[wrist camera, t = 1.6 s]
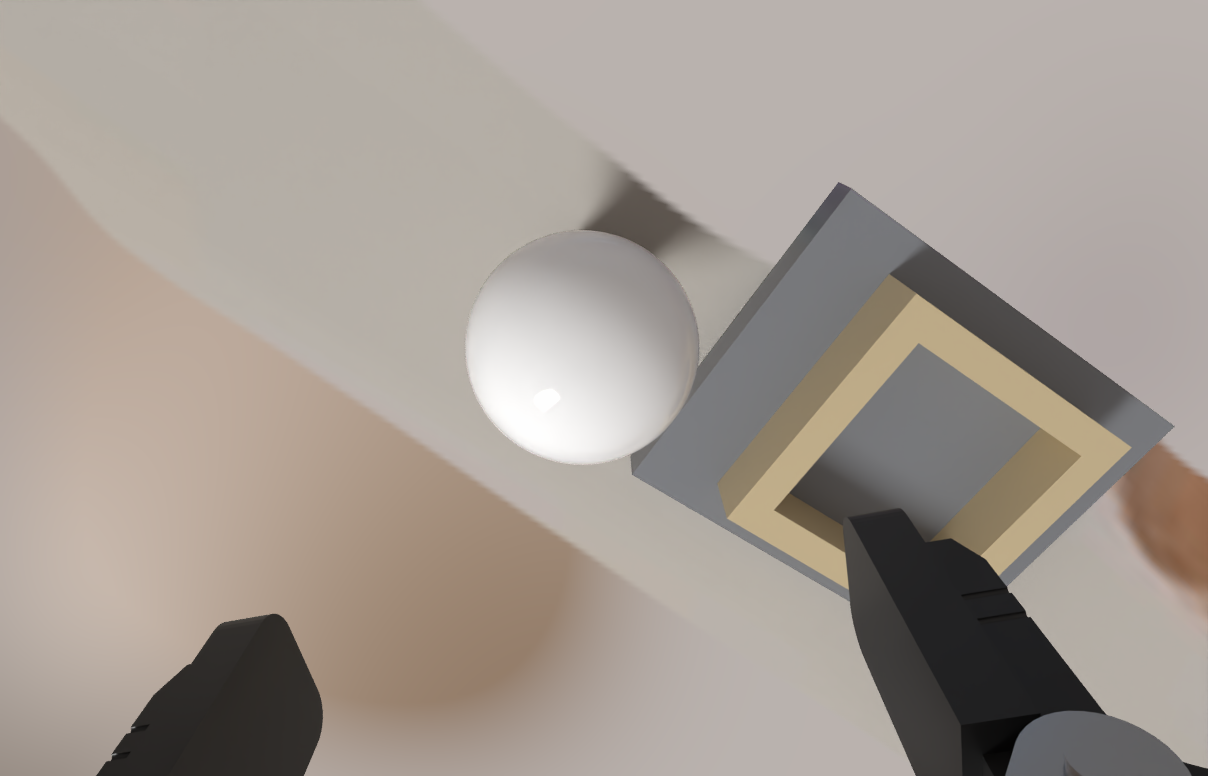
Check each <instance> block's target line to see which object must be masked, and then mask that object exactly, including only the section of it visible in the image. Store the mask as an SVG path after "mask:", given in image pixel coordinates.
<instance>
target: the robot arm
mask: <svg viewBox="0 0 1208 776" xmlns="http://www.w3.org/2000/svg"><path fill="white" fill-rule="evenodd" d="M843 535H844V546H845V556H846V566H847V576H848V586H849V596H850V606H851V613H852V619H853V624H854V628H855V632H856V636H857V639H858V643H859V646H860V649H861V651H862V654H863V656H864V659H865V661H866V663H867V666H868V668H869V670H870V672H871V675H872V677H873V679H874V682H875V684H876V686H877V688H878V691H879V693H880V695H881V698H882V700H883V702H884V704H885V707H886V709H887V711H888V713H889V716H890V718H891V720H892V723H893V725H894V727H895V729H896V732H897V734H898V736H899V738H900V741H901V743H902V745H903V748H904V750H905V752H906V754H907V757H908V759H909V761H910V763H911V766H912V768H913V770H914V773H915V775H916V776H1208V769H1207V768H1202V767H1199V766H1195V765H1191V764H1187V763H1185V762H1182V761H1181V759H1180V758H1179V757H1178V756H1177V755H1176V754H1175V753H1174V752H1173V751H1172V750H1171V749H1170V748H1169V747H1168V746H1167V745H1165V744H1164V743H1163V742H1161V741H1160V740H1159V739H1157V738H1156V737H1155V736H1153V735H1151V734H1150V733H1148V732H1146V731H1145V730H1143V729H1141V728H1139V727H1137V726H1135V725H1133V724H1131V723H1128V722H1126V721H1123V720H1121V719H1118V718H1115V717H1112V716H1108V715H1106V714H1105V712H1104V711H1103V710H1102V709H1101V708H1100V706H1099V705H1098V704H1097V703H1096V701H1095V700H1094V699H1093V697H1092V696H1091V695H1090V693H1089V692H1088V691H1087V690H1086V688H1085V687H1084V686H1083V684H1082V683H1081V682H1080V681H1079V679H1078V678H1077V677H1076V675H1075V674H1074V673H1073V671H1072V670H1071V669H1070V668H1069V666H1068V665H1067V664H1066V662H1065V661H1064V660H1063V659H1062V657H1061V656H1060V655H1059V653H1058V652H1057V651H1056V649H1055V648H1054V647H1053V646H1052V644H1051V643H1050V642H1049V640H1048V639H1047V638H1046V637H1045V635H1044V634H1043V633H1042V631H1041V630H1040V629H1039V628H1038V626H1037V625H1036V624H1035V622H1034V621H1033V620H1032V618H1031V617H1027V615H1026V611H1025V609H1024V608H1023V607H1022V606H1021V604H1020V603H1019V602H1018V600H1017V599H1016V598H1015V596H1014V595H1013V594H1012V593H1009V592H1008V589H1007V586H1006V585H1005V584H1004V582H1003V581H1002V580H1001V578H1000V577H999V576H998V574H997V573H996V572H995V571H994V569H993V568H992V567H991V565H990V564H989V563H988V562H987V560H986V559H985V558H983V557H981V556H980V555H978V554H976V553H975V552H973V551H971V550H970V549H968V548H966V547H965V546H963V545H961V544H960V543H958V542H957V541H955V540H953V539H952V538H949V539H943V540H937V541H931V542H925V541H924V540H923V538H922V537H921V535H920V534H919V532H918V531H917V529H916V528H915V526H914V525H913V523H912V522H911V520H910V519H909V517H908V516H907V514H906V513H905V512H904V511H903V510H902V509H901V508H895V509H890V510H884V511H878V512H872V513H866V514H861V515H855V516H849V517H845V518H844V520H843ZM322 720H323V710H322V702H321V698H320V694H319V692H318V689H317V687H316V685H315V683H314V680H313V678H312V676H311V674H310V672H309V669H308V668H307V665H306V663H305V661H304V659H303V656H302V654H301V652H300V650H299V647H298V645H297V643H296V641H295V639H294V636H293V634H292V632H291V630H290V628H289V626H288V624H287V622H286V621H285V620H284V618H283V617H281V616H280V615H278V614H270V615H264V616H258V617H252V618H246V619H240V620H235V621H229V622H224V623H222V624H220V625H219V626H218V627H217V628H216V629H215V630H214V631H213V633H212V634H211V636H210V637H209V639H208V640H207V642H206V643H205V645H204V646H203V648H202V649H201V651H200V652H199V653H198V655H197V656H196V658H195V659H194V661H193V662H192V664H189V665H187V666H186V667H184V668H183V669H182V670H181V671H180V672H179V673H178V674H177V675H176V676H174V677H173V678H172V679H171V680H170V681H169V682H168V683H167V684H166V685H164V686H163V687H162V688H161V689H160V690H159V691H158V692H157V693H155V695H153V697H152V698H151V700H150V701H149V702H148V704H147V705H146V707H145V708H144V710H143V711H142V712H141V714H140V715H139V717H138V718H137V719H136V721H135V722H134V724H133V725H132V726H131V733H128V734H126V735H125V736H124V738H123V739H122V740H121V742H120V743H119V745H118V746H117V747H116V749H115V750H114V752H113V753H112V760H111V761H107V762H106V763H105V764H104V766H103V767H102V769H101V770H100V771H99V773H98V774H97V775H96V776H304V774H305V772H306V769H307V767H308V765H309V762H310V760H311V758H312V755H313V753H314V750H315V748H316V746H317V743H318V741H319V738H320V734H321V729H322Z"/></svg>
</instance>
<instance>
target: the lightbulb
mask: <svg viewBox="0 0 1208 776" xmlns="http://www.w3.org/2000/svg"><path fill="white" fill-rule="evenodd" d="M465 358H466V366H467V371H468V376H469V380H470V383H471V386H472V389H473V391H474V394H475V396H476V398H477V400H478V402H479V404H480V406H481V408H482V409H483V411H484V412H485V414H486V415H487V417H488V418H489V419H490V421H491V422H492V423H493V424H494V425H495V426H496V428H497V429H498V430H499V431H500V432H501V433H503V434H504V435H505V436H506V437H507V438H508V439H510V440H511V441H512V442H514V443H515V444H516V445H518V446H519V447H521V448H523V449H524V450H526V451H528V452H530V453H532V454H534V455H537V456H539V457H542V458H545V459H547V460H551V461H555V462H559V463H565V464H575V465H591V464H600V463H606V462H610V461H614V460H617V459H620V458H623V457H626V456H628V455H630V454H633V453H635V452H637V451H638V450H640V449H642V448H644V447H645V446H647V445H648V444H650V443H651V442H652V441H654V440H655V439H656V438H657V437H659V436H660V435H661V434H662V433H663V432H664V431H665V430H666V429H667V428H668V427H669V426H670V425H671V423H672V422H673V421H674V420H675V418H676V417H677V416H678V414H679V413H680V411H681V410H682V408H683V406H684V405H685V403H686V401H687V399H688V397H689V394H690V392H691V390H692V387H693V384H694V381H695V377H696V373H697V368H698V361H699V334H698V327H697V322H696V317H695V314H694V311H693V308H692V305H691V303H690V300H689V298H688V296H687V294H686V292H685V290H684V289H683V287H682V285H681V284H680V282H679V281H678V279H677V278H676V277H675V275H674V274H673V273H672V272H671V270H670V269H669V268H668V267H667V266H666V265H665V264H664V263H663V262H662V261H661V260H660V259H658V258H657V257H656V256H655V255H654V254H652V253H651V252H650V251H648V250H647V249H645V248H643V247H642V246H640V245H638V244H636V243H634V242H632V241H630V240H628V239H626V238H623V237H620V236H617V235H614V234H610V233H606V232H600V231H593V230H571V231H563V232H558V233H554V234H550V235H547V236H544V237H541V238H538V239H536V240H534V241H531V242H529V243H527V244H526V245H524V246H522V247H520V248H519V249H517V250H516V251H514V252H513V253H512V254H510V255H509V256H508V257H507V258H505V259H504V260H503V261H502V262H501V263H500V264H499V265H498V266H497V267H496V268H495V269H494V270H493V272H492V273H491V274H490V275H489V277H488V278H487V279H486V281H485V282H484V284H483V286H482V287H481V289H480V291H479V293H478V295H477V297H476V299H475V301H474V303H473V306H472V309H471V312H470V315H469V319H468V323H467V329H466V337H465Z"/></svg>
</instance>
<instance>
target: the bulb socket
mask: <svg viewBox="0 0 1208 776" xmlns="http://www.w3.org/2000/svg"><path fill="white" fill-rule="evenodd" d="M1173 427H1174V426H1173V425H1172V424H1171V423H1169V422H1168V421H1167V420H1165V419H1164V418H1163V417H1161V416H1160V415H1159V414H1157V413H1156V412H1154V411H1153V410H1152V409H1150V408H1149V407H1148V406H1146V405H1145V404H1143V403H1142V402H1141V401H1140V400H1138V399H1137V398H1135V397H1134V396H1133V395H1131V394H1130V393H1129V392H1127V391H1126V390H1125V389H1123V388H1122V387H1121V386H1119V385H1118V384H1116V383H1115V382H1114V381H1112V380H1111V379H1110V378H1108V377H1107V376H1106V375H1104V374H1103V373H1101V372H1100V371H1099V370H1097V369H1096V368H1095V367H1093V366H1092V365H1091V364H1089V363H1088V362H1087V361H1085V360H1084V359H1082V358H1081V357H1080V356H1078V355H1077V354H1076V353H1074V352H1073V351H1072V350H1070V349H1069V348H1067V347H1066V346H1065V345H1063V344H1062V343H1061V342H1059V341H1058V340H1057V339H1055V338H1054V337H1053V336H1051V335H1050V334H1048V333H1047V332H1046V331H1044V330H1043V329H1042V328H1040V327H1039V326H1038V325H1036V324H1035V323H1033V322H1032V321H1031V320H1029V319H1028V318H1027V317H1025V316H1024V315H1023V314H1021V313H1020V312H1018V311H1017V310H1016V309H1015V308H1013V307H1012V306H1010V305H1009V304H1008V303H1006V302H1005V301H1004V300H1002V299H1001V298H1000V297H998V296H997V295H996V294H994V293H993V292H991V291H990V290H989V289H987V288H986V287H985V286H983V285H982V284H981V283H979V282H978V281H976V280H975V279H974V278H972V277H971V276H970V275H968V274H967V273H966V272H964V271H963V270H961V269H960V268H959V267H957V266H956V265H955V264H953V263H952V262H951V261H949V260H948V259H947V258H945V257H944V256H943V255H941V254H940V253H938V252H937V251H935V250H934V249H933V248H932V247H930V246H929V245H928V244H926V243H925V242H923V241H922V240H921V239H919V238H918V237H917V236H915V235H914V234H912V233H911V232H910V231H909V230H907V229H906V228H904V227H903V226H902V225H900V224H899V223H898V222H896V221H895V220H894V219H892V218H891V217H890V216H888V215H887V214H885V213H884V212H883V211H881V210H880V209H879V208H877V207H876V206H874V205H873V204H872V203H870V202H869V201H868V200H866V199H865V198H864V197H862V196H861V195H860V194H858V193H857V192H856V191H854V190H853V189H851V188H849V187H847V186H845V185H843V184H841V183H839V182H838V184H837V185H836V187H835V188H834V189H833V190H832V192H831V193H830V194H829V196H828V197H827V198H826V200H825V201H824V202H823V203H822V205H821V206H820V207H819V209H818V210H817V211H816V213H815V214H814V215H813V217H812V218H811V219H810V221H809V222H808V224H807V225H806V226H805V227H804V229H803V230H802V231H801V232H800V234H799V235H798V236H797V238H796V239H795V240H794V242H793V243H792V244H791V246H790V247H789V248H788V250H787V251H786V252H785V254H784V255H783V256H782V258H781V259H780V260H779V262H778V263H777V264H776V265H775V267H774V268H773V269H772V271H771V272H770V273H769V275H768V276H767V277H766V279H765V280H764V281H763V283H762V284H761V285H760V287H759V288H758V289H757V290H756V292H755V293H754V294H753V296H752V297H751V298H750V300H749V301H748V302H747V304H746V305H745V306H744V308H743V309H742V310H741V312H740V313H739V314H738V315H737V317H736V318H735V319H734V321H733V322H732V323H731V325H730V326H729V327H728V329H727V330H726V331H725V333H724V334H723V335H722V337H721V338H720V339H719V341H718V342H717V343H716V344H715V346H714V347H713V348H712V350H711V351H710V352H709V354H708V355H707V356H706V358H705V359H704V360H703V362H702V363H701V364H700V366H699V367H698V368H697V373H696V377H695V381H694V384H693V387H692V390H691V392H690V394H689V397H688V399H687V401H686V403H685V405H684V406H683V408H682V410H681V411H680V413H679V414H678V416H677V417H676V418H675V420H674V421H673V422H672V423H671V425H670V426H669V427H668V428H667V429H666V430H665V431H664V432H663V433H662V434H661V435H660V436H659V437H657V438H656V439H655V440H654V441H652V442H651V443H650V444H648V445H647V446H645V447H644V448H642V449H640V450H638V451H637V452H635V453H633V454H632V455H631V468H632V475H634V476H635V477H637V478H639V479H640V480H642V481H644V482H646V483H647V484H649V485H651V486H652V487H654V488H656V489H658V490H659V491H661V492H663V493H664V494H666V495H668V496H670V497H671V498H673V499H675V500H676V501H678V502H680V503H682V504H683V505H685V506H687V507H688V508H690V509H692V510H694V511H695V512H697V513H699V514H700V515H702V516H704V517H706V518H707V519H709V520H711V521H713V522H714V523H716V524H718V525H719V526H721V527H723V528H725V529H726V530H728V531H730V532H731V533H733V534H735V535H737V536H738V537H740V538H742V539H743V540H745V541H747V542H749V543H750V544H752V545H754V546H755V547H757V548H759V549H761V550H762V551H764V552H766V553H767V554H769V555H771V556H773V557H774V558H776V559H778V560H779V561H781V562H783V563H785V564H786V565H788V566H790V567H791V568H793V569H795V570H797V571H798V572H800V573H802V574H803V575H805V576H807V577H809V578H810V579H812V580H814V581H815V582H817V583H819V584H821V585H822V586H824V587H826V588H827V589H829V590H831V591H833V592H834V593H836V594H838V595H839V596H841V597H843V598H845V599H846V600H848V601H850V596H849V586H848V576H847V566H846V556H845V546H844V535H843V520H844V518H845V517H849V516H855V515H861V514H866V513H872V512H878V511H884V510H890V509H895V508H901V509H902V510H903V511H904V512H905V513H906V514H907V516H908V517H909V519H910V520H911V522H912V523H913V525H914V526H915V528H916V529H917V531H918V532H919V534H920V535H921V537H922V538H923V540H924V541H925V542H931V541H937V540H943V539H949V538H952V539H953V540H955V541H957V542H958V543H960V544H961V545H963V546H965V547H966V548H968V549H970V550H971V551H973V552H975V553H976V554H978V555H980V556H981V557H983V558H985V559H986V560H987V562H988V563H989V564H990V565H991V567H992V568H993V569H994V571H995V572H996V573H997V574H998V576H999V577H1000V578H1001V580H1002V581H1003V582H1004V584H1005V585H1006V586H1008V585H1009V584H1010V583H1011V582H1012V581H1013V580H1014V579H1015V578H1016V577H1017V576H1018V575H1019V574H1020V573H1021V572H1022V571H1023V570H1025V569H1026V568H1027V567H1028V566H1029V565H1030V564H1031V563H1032V562H1033V561H1034V560H1035V559H1036V558H1037V557H1038V556H1039V555H1040V554H1041V553H1042V552H1043V551H1044V550H1046V549H1047V548H1048V547H1049V546H1050V545H1051V544H1052V543H1053V542H1054V541H1055V540H1056V539H1057V538H1058V537H1059V536H1060V535H1061V534H1062V533H1063V532H1064V531H1065V530H1067V529H1068V528H1069V527H1070V526H1071V525H1072V524H1073V523H1074V522H1075V521H1076V520H1077V519H1078V518H1079V517H1080V516H1081V515H1082V514H1083V513H1084V512H1085V511H1086V510H1087V509H1089V508H1090V507H1091V506H1092V505H1093V504H1094V503H1095V502H1096V501H1097V500H1098V499H1099V498H1100V497H1101V496H1102V495H1103V494H1104V493H1105V492H1106V491H1107V490H1108V489H1110V488H1111V487H1112V486H1113V485H1114V484H1115V483H1116V482H1117V481H1118V480H1119V479H1120V478H1121V477H1122V476H1123V475H1124V474H1125V473H1126V472H1127V471H1128V470H1129V469H1131V468H1132V467H1133V466H1134V465H1135V464H1136V463H1137V462H1138V461H1139V460H1140V459H1141V458H1142V457H1143V456H1144V455H1145V454H1146V453H1147V452H1148V451H1149V450H1150V449H1151V448H1153V447H1154V446H1155V445H1156V444H1157V443H1158V442H1159V441H1160V440H1161V439H1162V438H1163V437H1164V436H1165V435H1166V434H1167V433H1168V432H1169V431H1170V430H1171V429H1172V428H1173Z"/></svg>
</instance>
